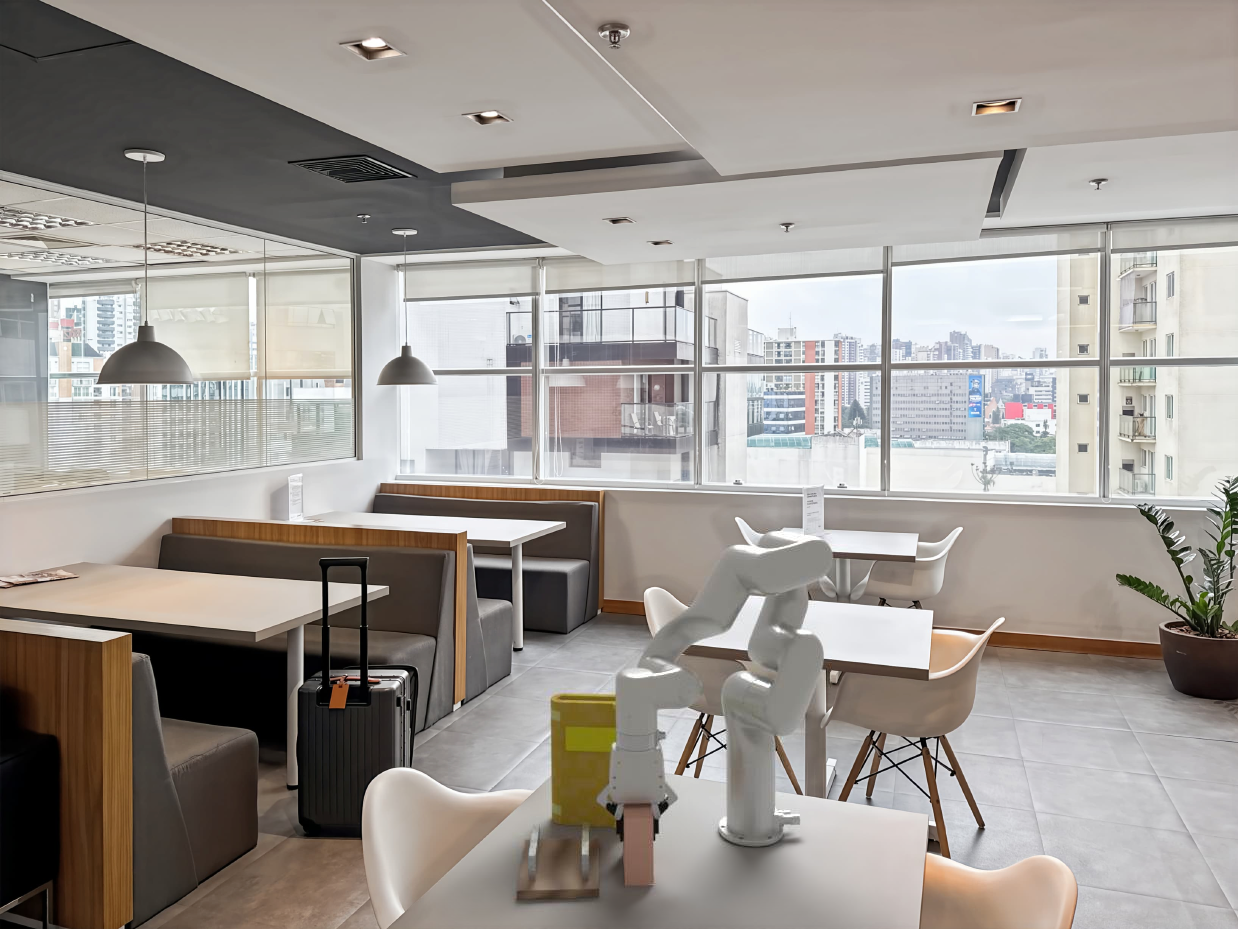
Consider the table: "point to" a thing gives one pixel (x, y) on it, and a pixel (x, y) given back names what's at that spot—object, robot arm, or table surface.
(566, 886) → the shelf board
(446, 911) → the table surface
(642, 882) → the small book
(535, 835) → the bookends
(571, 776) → the book
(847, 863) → the table surface
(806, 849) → the table surface
